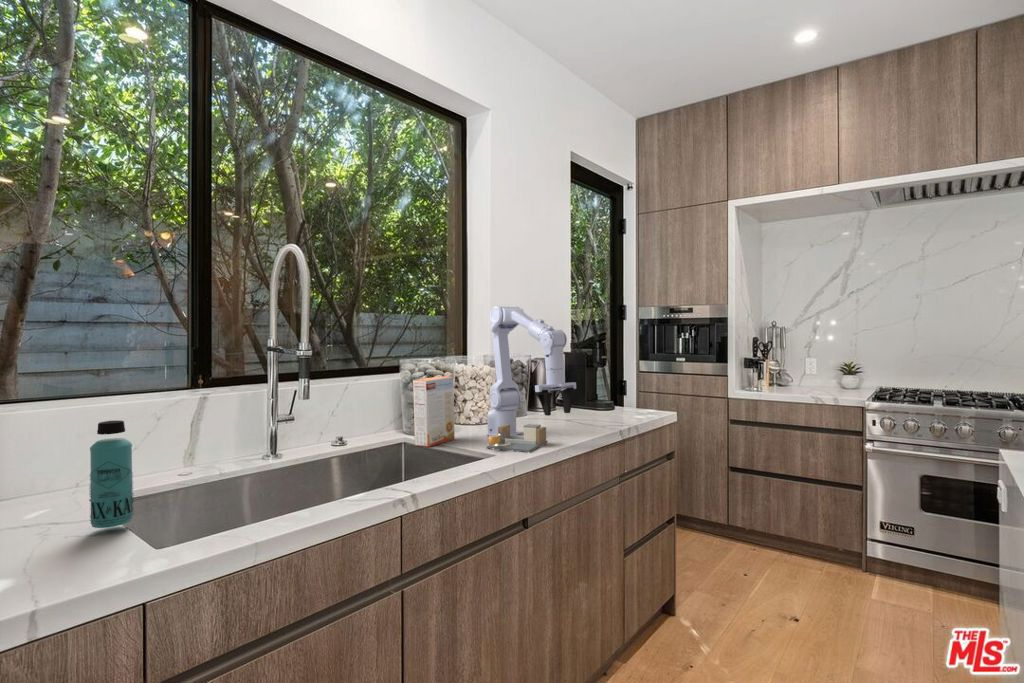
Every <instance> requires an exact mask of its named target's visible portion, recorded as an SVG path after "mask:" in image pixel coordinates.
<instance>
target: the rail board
mask: <svg viewBox="0 0 1024 683" xmlns="http://www.w3.org/2000/svg"><path fill="white" fill-rule="evenodd" d="M498 433H505V442H510V443H511V445H509V446H502V447H499V446H492V445H489V444H488V445H486V449H487V448H494V449H502V450H501V451H505V450H513V451H512V452H517V451H524V452H523V453H528V452H530V451H531V452H533V451H535V450H537V449H539V448H540V446H541V447H542V445H543V446H544V444H545V443H547V444H548V440H547V426H542V427H541V428H539V429H537V430H536V441H532V440H524V435H510V425H509V424H505V425H503V426H500V427H498ZM545 445H546V444H545ZM538 447H539V448H538ZM536 448H537V449H536ZM534 449H535V450H534ZM532 450H533V451H532ZM531 452H530V453H531Z"/></svg>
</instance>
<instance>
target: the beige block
mask: <svg viewBox="0 0 1024 683" xmlns="http://www.w3.org/2000/svg"><path fill="white" fill-rule="evenodd" d="M541 426H542V425H541V424H538V423H537V424H536V423H526V424H524V425H523V436H524V440H532V441H536V430H537V429H539V428H541Z"/></svg>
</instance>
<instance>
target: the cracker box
mask: <svg viewBox="0 0 1024 683" xmlns="http://www.w3.org/2000/svg"><path fill="white" fill-rule="evenodd" d="M412 395H413V397H412V398H413V424H414V425H413V426H414V427H413V428H414V429H413V431H414V446H417V447H425V448H429V447H433V446H436V445H439V444H443V443H447V442H449V440H450V441H453V440H455V410H454V409H455V405H454V403H455V402H454V398H455V397H454V377H453V376H444V375H443V376H435V377H427V378H419V379H414V380H412ZM452 439H453V440H452Z"/></svg>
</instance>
